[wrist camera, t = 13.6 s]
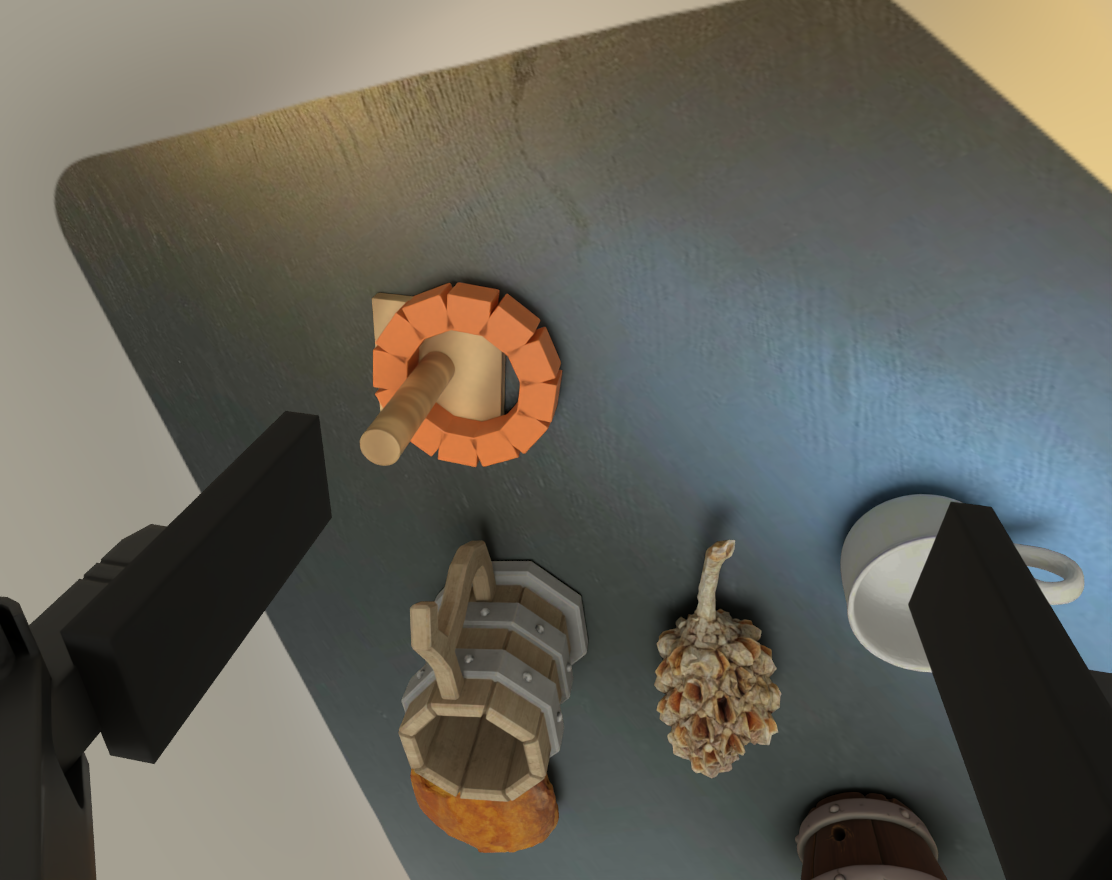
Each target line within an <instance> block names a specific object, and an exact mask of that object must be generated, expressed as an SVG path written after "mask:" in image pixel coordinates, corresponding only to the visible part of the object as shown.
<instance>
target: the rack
mask: <svg viewBox="0 0 1112 880" xmlns="http://www.w3.org/2000/svg"><path fill="white" fill-rule="evenodd" d="M412 298H413V296H404V295H396V294H387V293H377V294H376V295H375V296H374V297H373V298H372V306H373V319H374V332H375V342H376V341H377V339H378V338H379V336H380V335H381V333H382V332H383V331H384V329H385V328H386V326H387V325H388V323H389V322H390V320H391V319H392V317H393V316H394V315H395V313H396V312H397V311H398V310H399V309H400V308H401V307H402V306H403V305H404V304H405V303H406V302H407V301H408V300H409V301H410V300H411V299H412ZM375 345H376V346H377V344H376V343H375ZM505 356H506V354H504V353H503V352H502V351H501V350H499V349H498V348H497V347H495V346H494V345H493V344H492V343H490V342H489V341H488V340H486V339H485V338H484V337H482V336H479V335H474V334H469V333H463V332H458V331H453V330H450V331H447V332H445V333H442V334H439V335H436V336H433V337H430V338H427V339H425V340H424V342H423V343H422V345H421V346H420V347H419V363H418V365H417V366H416V368H415V369H414V370H413V371H412V373H411V374H410V375H409V376H408V378H407V379H406V380H405V382H404V383H403V384H402V385H401V387H400V388H399V389H398V390H397V392H396V393H395V394H394V396H393V397H392V398H391V399H390V401H389V402H388V403H387V404H386V406H385V407H384V408H383V407H382V405H381V404H380V411H381V412H380V413H379V415H378V416H377V417H376V418H375V420H374V421H373V422H372V423H371V425H370V426H369V427H368V429H367V430H366V431H365V432H364V434H363V435H362V437H361V439H360V448H361V451H362V453H363V454H364V456H365V457H366V458H367V459H368V460H370V461H371V462H373V463H375V464H378V465H391V464H393V463H395V462H396V461H397V460H398V459H399V457H400V456H401V454H402V453H403V451H404V450H405V448H406V447H407V445H408V444H409V442H410V441H411V439H412V438H413V436H414V435H415V433H416V432H417V430H418V429H419V427H420V426H421V424H422V423H423V421H424V420H425V418H426V417H427V415H428V414H429V412H430V411H431V409H432V407H433V406H434V404H435V403H438V404H439V405H440V406H442V407H443V408H444V409H446V410H447V411H448V412H450V413H451V414H452V415H454V416H457V417H462V418H467V419H472V420H477V421H486V420H489V419H493V418H496V417H499V416H503V415H504V399H505Z"/></svg>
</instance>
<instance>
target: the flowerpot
mask: <svg viewBox="0 0 1112 880" xmlns="http://www.w3.org/2000/svg"><path fill="white" fill-rule="evenodd" d="M795 841H796V843H797V852H798V855H799V858H800V860H801V862H802V863H803V866H802V874H801V880H947V878H946V876H945V875H944V873H943V871H942V869H941V867H940V866H939V864H938V862H937V859H938V849H937V846H936V844H935V842H934V840H933V838H932V836H931V835H930V833H929V831H928V829H927V828H926V826H925V825H924V823H923V822H922V821H921V820H920V819H919V818H918V817H917V816H916V815H915V814H914V813H913V812H912V810H911V809H909V808H908V807H907V806H905V805H904V804H902V803H901V802H900V801H898V800H897V799H895V798H892V799H886V797H885V796H884V795H882V794H876V793H869V794H867V795H866V796H864V795H862V794H861V793H858V792H846V793H840V794H836V795H833V796H830V797H827V798H825V799H823V800H821V801H819V802H818V803H817V805H816V808H812V809H811V810H810V811H809V813H808V816H807V817H806V818H805V819H804V821H803V822H802V824H801V826H800V830H799V835H797V836H796V837H795Z"/></svg>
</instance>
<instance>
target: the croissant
mask: <svg viewBox="0 0 1112 880" xmlns="http://www.w3.org/2000/svg"><path fill="white" fill-rule="evenodd" d="M411 781H412V786H413V789H414V793H415V796H416V800H417V802H418V804H419V806H420V808H421V809H422V811H423V812H424V813H425V814H426V815H427V816H428V817H429V818H430V819H431V820H432V821H433V822H434V823H435V824H436V825H437V826H438V827H440V828H441V829H443V830H444V831H445V832H446V833H447V834H448V835H449V836H452V837H454V838H456V839H458V840H460V841H464V842H466V843H467V844H470V845H472V846H474V847H476V848H477V849H478V851H479V852H483V853H488V852H507V851H509V852H515V851H518V850H521V849H526V848H529V847H533V846H534V845H536V844H538V843H542V842H543V841H544V840H545V839H546V838H547V837H548V836H549V834H550V833H551V832H552V830H553V829H554V828H555V827H556V825H557V822H558V819H559V812H558V805H557V803H556V797H555V794H554V791H553V785H552V784H551V783H550V781H549V779H548V776H547V773H546V776H545V779H543V780H542V781H540V782H539V783H538V784H536V785H535V786H533V787H532V788H530V789H529V790H528V791H526V792H525V793H523V794H522V795H520V796H519V797H518V798H516V799H515V800H513V801H512V800H511V799H510V801H508V802H505V801H490V800H476V799H461V798H460V792H459V793H458V795H457V796H456V797H455V796H453V795H452V794H450V793H448V792H447V791H445V790H443V789H442V788H440V787H438V786H437V785H435V784H433V783H432V782H430V781H428V780H427V779H425V778H423V777H422V776H420V775H418V774H417V773H415V772H414V769H412V768H411Z"/></svg>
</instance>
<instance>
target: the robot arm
mask: <svg viewBox="0 0 1112 880" xmlns="http://www.w3.org/2000/svg"><path fill="white" fill-rule="evenodd" d="M331 518H332V515H331V507H330V499H329V491H328V484H327V476H326V468H325V460H324V452H323V444H322V436H321V428H320V420H319V416H318V415H311V414H304V413H296V412H289V411H285V412H284V413H283V414H282V415H281V416H280V417H279V418H278V419H277V420H276V421H275V422H274V423H273V424H272V425H271V426H270V427H269V428H268V429H267V430H266V431H265V432H264V433H263V434H262V435H261V436H260V437H258V438H257V439H256V440H255V441H254V442H253V443H252V444H251V445H250V446H249V447H248V448H247V449H246V450H245V451H244V452H243V453H242V454H241V455H240V456H239V457H238V458H237V459H236V460H235V461H234V462H233V463H232V464H231V465H230V466H229V467H228V468H227V469H226V470H225V471H224V472H223V473H222V474H221V475H220V476H218V477H217V478H216V479H215V480H214V481H213V482H212V483H211V484H210V485H209V486H208V487H207V488H206V489H205V490H204V491H203V492H202V493H201V494H200V495H199V496H198V497H197V498H196V499H195V500H194V501H193V502H192V503H191V504H190V505H189V506H188V507H187V508H186V509H185V510H184V511H183V512H182V513H181V514H180V515H178V516H177V518H175V519H174V520H173V521H172V522H171V523H170V524H169V525H168V526H167V527H166V526H160V525H154V524H150V525H148V526H147V527H145V528H143V529H141V530H139V531H137V532H136V533H134V534H132V535H130V536H128V537H126V538H124V539H122V540H121V541H120V542H119V543H118V544H117V545H116V546H115V547H114V548H113V549H111V550H110V551H109V552H108V553H107V554H106V555H105V556H104V557H103V558H102V559H101V562H100V563H96V564H95V565H94V566H93V567H92V568H91V569H90V570H89V571H88V572H87V573H85V574H84V578H83V579H79V580H78V581H77V582H76V583H75V584H73V585H72V586H71V587H70V588H69V589H68V590H67V591H66V592H65V593H64V594H63V595H62V596H60V597H59V598H58V599H57V600H56V601H55V602H54V603H53V604H52V605H51V606H50V607H49V608H47V609H46V610H45V611H44V612H43V613H42V614H41V615H40V616H39V617H38V618H37V619H36V620H35V621H33V622H32V623H31V624H30V625H28V622H27V620H26V618H25V616H24V614H23V611H22V609H21V606H20V604H19V603H18V602H16V601H14V600H12V599H10V598H8V597H0V880H96V866H95V851H94V835H93V819H92V803H91V788H90V773H89V763H88V761H87V758H86V756H85V753H84V751H85V750H86V748H87V747H88V746H89V745H90V744H91V742H92V741H93V740H94V739H95V738H96V737H97V735H98V734H99V733H100V732H101V734H102V736H103V739H104V741H105V744H106V746H107V748H108V751H109V753H110V755H111V756H117V757H122V758H127V759H132V760H137V761H142V762H147V763H152V764H155V762H156V761H157V760H158V758H159V757H160V756H161V754H162V753H163V751H164V750H165V748H166V747H167V746H168V744H169V743H170V742H171V740H172V739H173V737H174V736H175V735H176V733H177V732H178V730H179V729H180V728H181V726H182V725H183V724H184V722H185V721H186V719H187V718H188V717H189V715H190V714H191V712H192V711H193V710H194V708H195V707H196V705H197V704H198V703H199V701H200V700H201V698H202V697H203V696H204V694H205V693H206V692H207V690H208V689H209V687H210V686H211V685H212V683H213V682H214V680H215V679H216V678H217V676H218V675H219V673H220V672H221V671H222V669H223V668H224V666H225V665H226V664H227V662H228V661H229V659H230V658H231V657H232V655H233V654H234V653H235V651H236V650H237V648H238V647H239V646H240V644H241V643H242V641H243V640H244V639H245V637H246V636H247V634H248V633H249V632H250V630H251V629H252V627H253V626H254V625H255V623H256V622H257V621H258V619H259V618H260V616H261V615H262V614H263V612H264V611H265V609H266V608H267V607H268V605H269V604H270V602H271V601H272V600H273V598H274V597H275V596H276V594H277V593H278V591H279V590H280V589H281V587H282V586H283V584H284V583H285V582H286V580H287V579H288V577H289V576H290V575H291V573H292V572H293V571H294V569H295V568H296V566H297V565H298V564H299V562H300V561H301V559H302V558H303V557H304V555H305V554H306V552H307V551H308V550H309V548H310V547H311V545H312V544H313V543H314V541H315V540H316V539H317V537H318V536H319V534H320V533H321V532H322V530H323V529H324V527H325V526H326V525H327V523H328V522H329V520H330V519H331ZM908 606H909V609H910V612H911V615H912V618H913V620H914V623H915V626H916V629H917V632H918V634H919V637H920V640H921V643H922V646H923V648H924V651H925V654H926V657H927V660H928V662H929V665H930V668H931V671H932V673H933V676H934V679H935V682H936V685H937V687H938V690H939V693H940V696H941V699H942V701H943V704H944V707H945V710H946V713H947V715H948V718H949V721H950V724H951V727H952V729H953V732H954V735H955V738H956V741H957V743H958V746H959V749H960V752H961V755H962V757H963V760H964V763H965V766H966V769H967V771H968V774H969V777H970V780H971V782H972V785H973V788H974V791H975V794H976V796H977V799H978V802H979V805H980V808H981V810H982V813H983V816H984V819H985V822H986V824H987V827H988V830H989V833H990V836H991V838H992V841H993V844H994V847H995V850H996V852H997V855H998V858H999V861H1000V864H1001V866H1002V869H1003V872H1004V875H1005V877H1006V880H1112V673H1106V672H1099V671H1093V670H1089V669H1088V668H1087V666H1086V664H1085V663H1084V661H1083V659H1082V657H1081V656H1080V654H1079V652H1078V651H1077V649H1076V647H1075V646H1074V644H1073V642H1072V641H1071V639H1070V637H1069V636H1068V634H1067V632H1066V631H1065V629H1064V627H1063V626H1062V624H1061V622H1060V621H1059V619H1058V617H1057V616H1056V614H1055V612H1054V611H1053V609H1052V607H1051V606H1050V604H1049V602H1048V601H1047V599H1046V597H1045V596H1044V594H1043V592H1042V591H1041V589H1040V587H1039V585H1038V584H1037V582H1036V580H1035V579H1034V577H1033V575H1032V574H1031V572H1030V570H1029V569H1028V567H1027V565H1026V564H1025V562H1024V560H1023V559H1022V557H1021V555H1020V554H1019V552H1018V550H1017V549H1016V547H1015V545H1014V544H1013V542H1012V540H1011V539H1010V537H1009V535H1008V534H1007V532H1006V530H1005V529H1004V527H1003V525H1002V524H1001V522H1000V520H999V519H998V517H997V515H996V513H995V512H994V510H993V508H992V507H988V506H981V505H973V504H966V503H959V502H950V504H949V507H948V509H947V512H946V514H945V517H944V519H943V521H942V524H941V526H940V529H939V531H938V533H937V536H936V538H935V541H934V543H933V545H932V548H931V550H930V553H929V555H928V558H927V560H926V562H925V565H924V567H923V570H922V572H921V574H920V577H919V579H918V582H917V584H916V586H915V589H914V591H913V594H912V596H911V599H910V601H909V603H908Z"/></svg>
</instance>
